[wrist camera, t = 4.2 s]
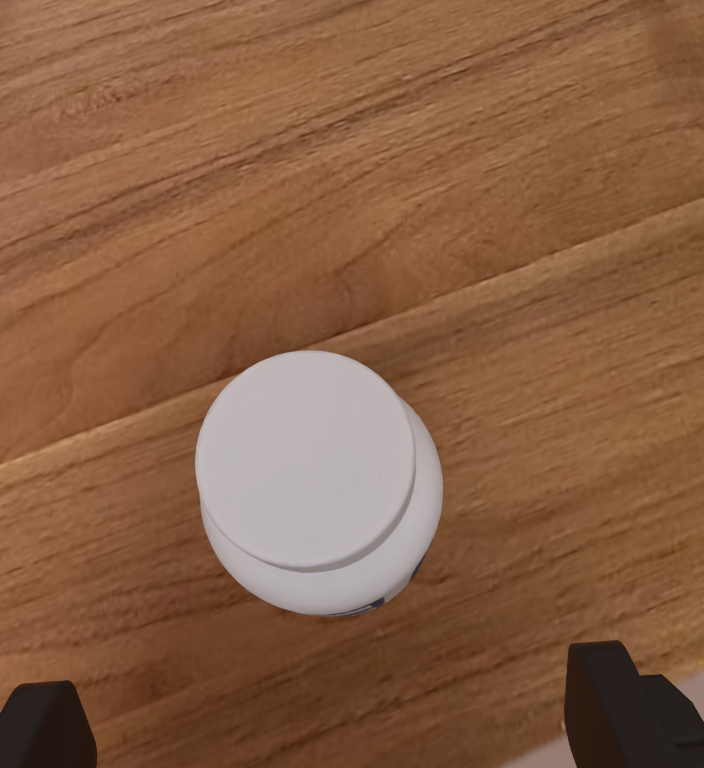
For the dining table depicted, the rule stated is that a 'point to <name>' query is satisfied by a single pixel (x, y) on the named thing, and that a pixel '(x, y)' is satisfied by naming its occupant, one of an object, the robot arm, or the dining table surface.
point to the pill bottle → (317, 484)
